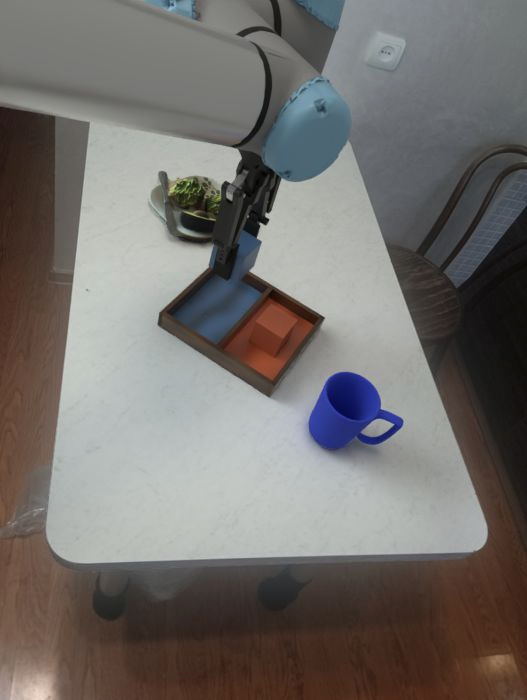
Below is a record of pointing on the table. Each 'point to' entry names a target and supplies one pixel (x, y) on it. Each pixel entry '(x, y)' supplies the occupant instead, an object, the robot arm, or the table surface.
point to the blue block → (241, 256)
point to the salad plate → (187, 205)
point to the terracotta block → (272, 330)
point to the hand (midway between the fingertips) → (231, 264)
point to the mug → (348, 412)
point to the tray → (238, 326)
